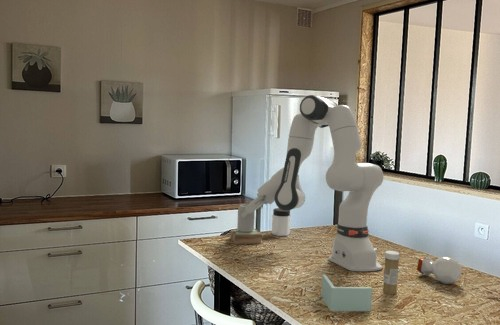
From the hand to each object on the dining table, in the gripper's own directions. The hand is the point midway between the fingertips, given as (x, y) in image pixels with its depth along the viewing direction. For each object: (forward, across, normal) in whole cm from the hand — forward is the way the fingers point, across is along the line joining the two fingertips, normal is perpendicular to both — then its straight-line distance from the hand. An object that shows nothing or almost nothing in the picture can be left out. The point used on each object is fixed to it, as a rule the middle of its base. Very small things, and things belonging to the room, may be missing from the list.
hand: (245, 214), depth 211 cm
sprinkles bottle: (-35, -46, -52) cm, 78 cm away
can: (+5, 0, -6) cm, 8 cm away
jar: (-1, +19, -18) cm, 26 cm away
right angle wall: (-25, -60, -43) cm, 78 cm away
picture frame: (+8, 0, -9) cm, 12 cm away
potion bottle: (-47, -28, -65) cm, 85 cm away
